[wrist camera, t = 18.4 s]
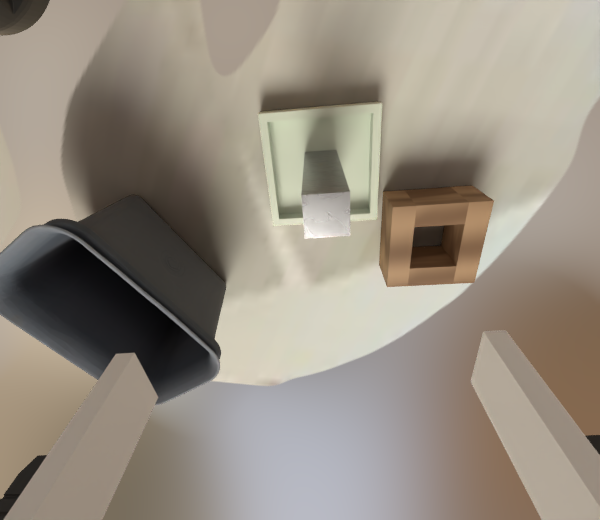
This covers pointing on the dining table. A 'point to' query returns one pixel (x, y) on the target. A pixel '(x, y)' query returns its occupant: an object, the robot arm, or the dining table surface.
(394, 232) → the hollow wooden square
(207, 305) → the storage bin
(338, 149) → the tray
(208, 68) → the dining table surface
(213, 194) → the dining table surface
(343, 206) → the grey wooden beam
